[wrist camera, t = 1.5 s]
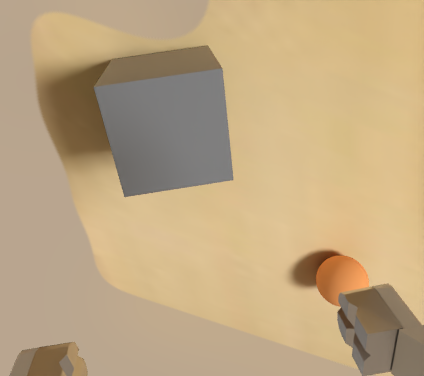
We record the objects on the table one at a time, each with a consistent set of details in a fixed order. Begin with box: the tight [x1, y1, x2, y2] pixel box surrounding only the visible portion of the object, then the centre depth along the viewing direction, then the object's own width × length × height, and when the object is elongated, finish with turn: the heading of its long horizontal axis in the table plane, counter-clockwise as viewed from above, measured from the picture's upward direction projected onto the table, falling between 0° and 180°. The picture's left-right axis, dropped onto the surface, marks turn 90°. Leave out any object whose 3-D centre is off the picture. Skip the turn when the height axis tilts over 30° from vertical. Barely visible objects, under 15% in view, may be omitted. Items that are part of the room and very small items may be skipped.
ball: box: [316, 256, 369, 306], centre depth 37 cm, size 5×5×5 cm
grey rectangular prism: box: [94, 46, 233, 197], centre depth 25 cm, size 7×7×8 cm
